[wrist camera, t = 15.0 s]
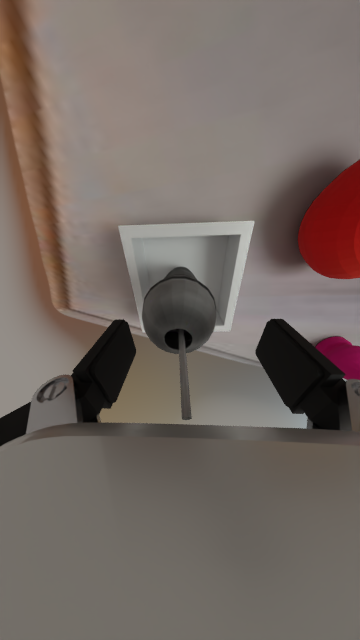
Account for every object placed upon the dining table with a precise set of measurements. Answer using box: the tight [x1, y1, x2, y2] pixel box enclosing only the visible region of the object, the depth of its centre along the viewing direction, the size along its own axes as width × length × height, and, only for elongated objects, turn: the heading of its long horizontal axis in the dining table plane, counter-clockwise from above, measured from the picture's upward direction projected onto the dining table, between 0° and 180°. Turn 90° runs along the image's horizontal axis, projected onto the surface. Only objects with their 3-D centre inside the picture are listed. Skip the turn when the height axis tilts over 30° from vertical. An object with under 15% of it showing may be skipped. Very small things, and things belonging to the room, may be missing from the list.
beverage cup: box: [142, 267, 217, 420], centre depth 14 cm, size 7×7×20 cm
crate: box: [118, 221, 255, 332], centre depth 21 cm, size 15×15×6 cm
